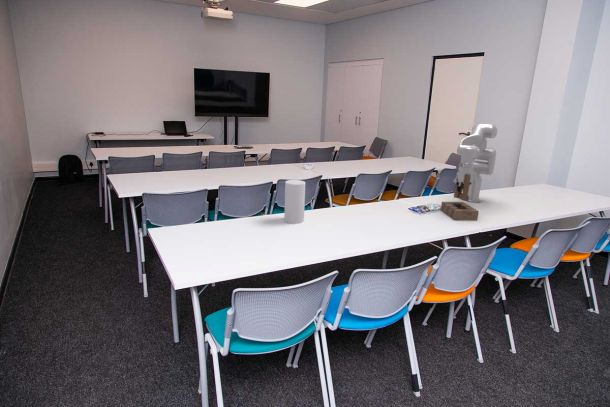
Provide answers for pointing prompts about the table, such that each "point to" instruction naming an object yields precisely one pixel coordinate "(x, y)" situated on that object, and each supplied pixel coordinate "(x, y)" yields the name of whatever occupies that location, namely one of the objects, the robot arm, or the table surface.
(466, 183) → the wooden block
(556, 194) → the table surface
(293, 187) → the cylinder
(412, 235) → the table surface
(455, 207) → the end cap block
